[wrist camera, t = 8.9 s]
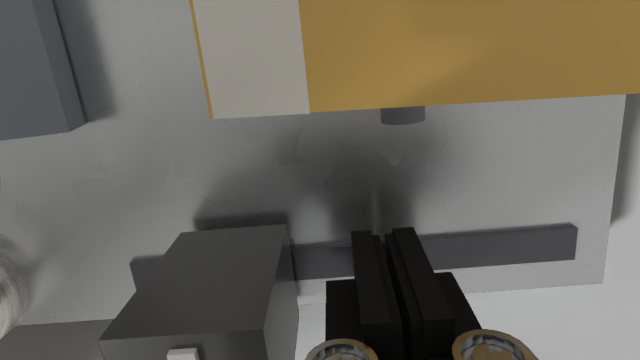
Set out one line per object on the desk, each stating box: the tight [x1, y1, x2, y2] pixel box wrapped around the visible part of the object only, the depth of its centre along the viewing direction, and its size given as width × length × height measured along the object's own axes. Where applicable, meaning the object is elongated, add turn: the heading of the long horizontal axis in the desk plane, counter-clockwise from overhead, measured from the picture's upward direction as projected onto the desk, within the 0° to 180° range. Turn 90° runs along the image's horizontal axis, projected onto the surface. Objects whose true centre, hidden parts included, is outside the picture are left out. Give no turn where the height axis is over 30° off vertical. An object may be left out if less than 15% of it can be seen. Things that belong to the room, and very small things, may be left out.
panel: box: [0, 0, 626, 339], centre depth 12 cm, size 10×24×4 cm, turn 96°
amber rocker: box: [189, 0, 640, 125], centre depth 9 cm, size 4×9×1 cm, turn 96°
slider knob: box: [98, 224, 299, 360], centre depth 10 cm, size 3×3×5 cm
